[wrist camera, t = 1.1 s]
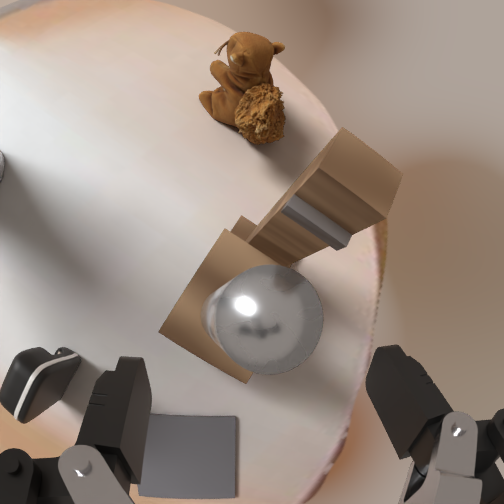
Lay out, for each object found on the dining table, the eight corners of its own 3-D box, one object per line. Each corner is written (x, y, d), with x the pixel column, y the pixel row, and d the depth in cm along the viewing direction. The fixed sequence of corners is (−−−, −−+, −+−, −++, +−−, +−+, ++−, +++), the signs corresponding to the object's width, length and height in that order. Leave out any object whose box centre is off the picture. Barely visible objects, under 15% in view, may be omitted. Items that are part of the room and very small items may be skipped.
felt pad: (139, 493, 28) (139, 495, 28) (131, 412, 31) (130, 413, 30) (234, 495, 31) (235, 497, 30) (234, 415, 33) (235, 417, 33)
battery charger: (59, 337, 30) (12, 345, 20) (84, 357, 31) (44, 374, 20) (36, 381, 29) (-12, 402, 18) (60, 401, 29) (18, 430, 18)
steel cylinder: (199, 343, 26) (214, 375, 13) (201, 286, 27) (217, 261, 14) (256, 344, 27) (321, 371, 14) (257, 288, 28) (323, 267, 15)
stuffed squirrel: (255, 75, 43) (278, 12, 30) (298, 148, 41) (339, 92, 29) (193, 89, 40) (201, 20, 27) (231, 169, 39) (254, 108, 26)
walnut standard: (232, 369, 34) (318, 457, 11) (164, 327, 33) (123, 358, 10) (298, 256, 38) (440, 183, 15) (236, 215, 38) (312, 83, 15)
